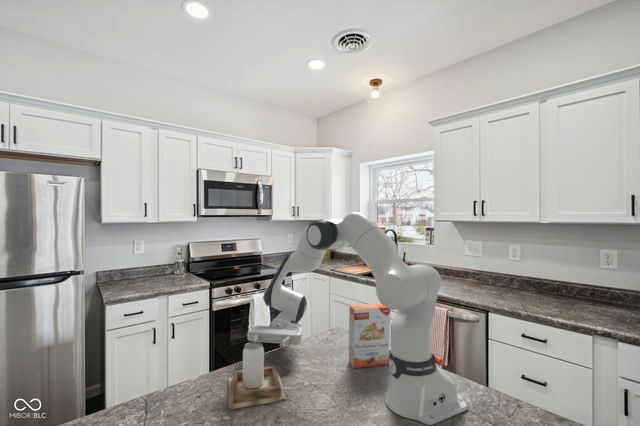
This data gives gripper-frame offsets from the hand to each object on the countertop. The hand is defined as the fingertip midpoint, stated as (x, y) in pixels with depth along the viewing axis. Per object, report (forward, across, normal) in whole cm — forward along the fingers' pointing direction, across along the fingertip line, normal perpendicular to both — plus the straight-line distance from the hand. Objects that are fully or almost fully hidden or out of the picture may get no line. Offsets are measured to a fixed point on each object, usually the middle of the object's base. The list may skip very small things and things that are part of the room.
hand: (268, 343), depth 104 cm
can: (+11, -1, +8) cm, 14 cm away
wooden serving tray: (+12, 0, +9) cm, 15 cm away
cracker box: (-10, +35, +9) cm, 37 cm away
